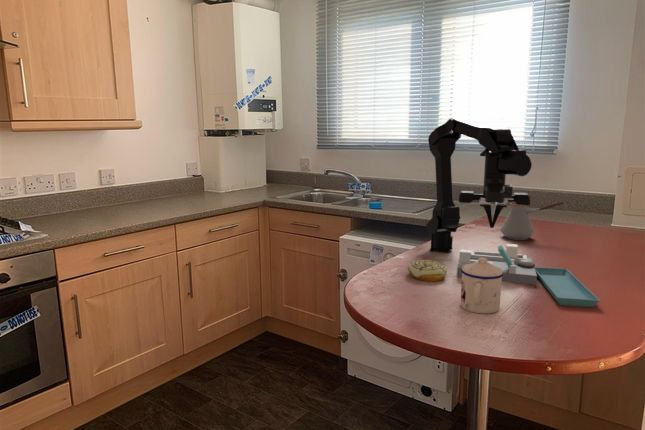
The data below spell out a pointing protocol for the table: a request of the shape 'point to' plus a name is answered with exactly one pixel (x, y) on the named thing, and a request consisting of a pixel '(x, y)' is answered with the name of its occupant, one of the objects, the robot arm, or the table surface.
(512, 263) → the paddle lever
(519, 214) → the coffee pot
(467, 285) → the teacup with lid
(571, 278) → the rectangular tray
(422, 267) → the decorated donut
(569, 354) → the table surface
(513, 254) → the cream slider
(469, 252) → the grey slider
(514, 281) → the panel
